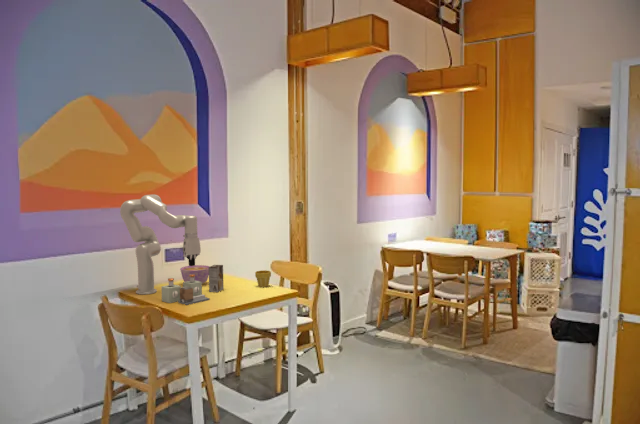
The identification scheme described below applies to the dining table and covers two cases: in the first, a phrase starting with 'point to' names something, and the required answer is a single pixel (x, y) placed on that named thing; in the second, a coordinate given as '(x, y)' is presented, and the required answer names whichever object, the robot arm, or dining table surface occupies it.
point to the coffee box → (216, 278)
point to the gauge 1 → (171, 282)
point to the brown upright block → (186, 294)
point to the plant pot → (263, 278)
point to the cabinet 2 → (194, 287)
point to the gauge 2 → (192, 278)
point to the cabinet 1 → (170, 293)
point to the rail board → (195, 300)
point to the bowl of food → (198, 270)
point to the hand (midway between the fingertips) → (191, 265)
